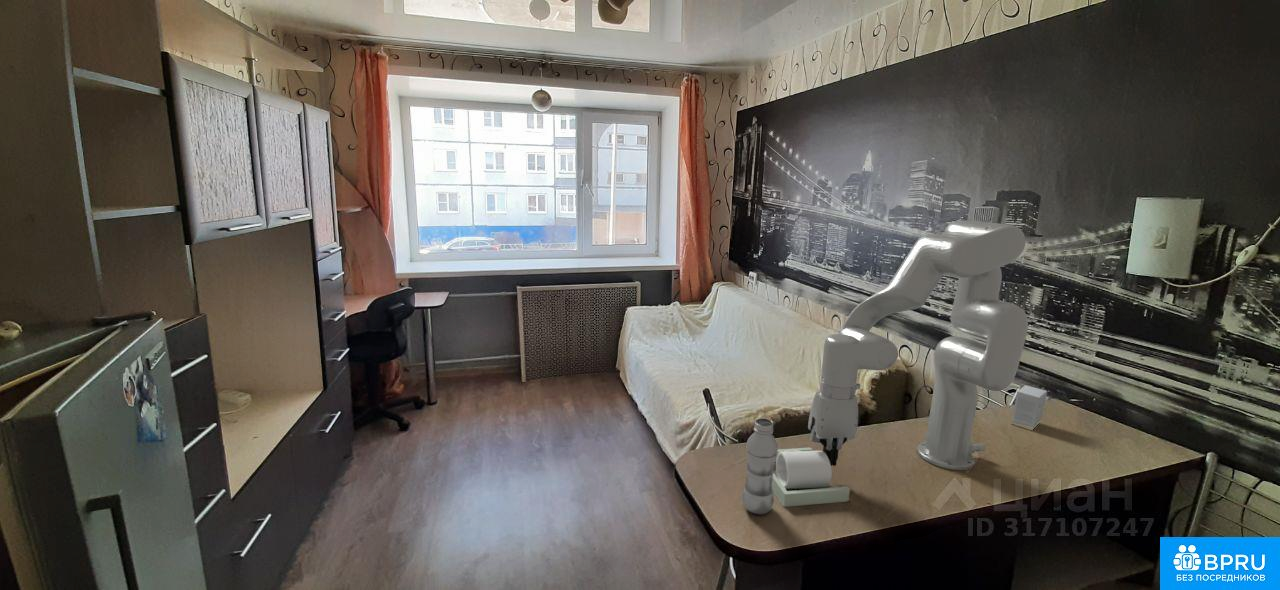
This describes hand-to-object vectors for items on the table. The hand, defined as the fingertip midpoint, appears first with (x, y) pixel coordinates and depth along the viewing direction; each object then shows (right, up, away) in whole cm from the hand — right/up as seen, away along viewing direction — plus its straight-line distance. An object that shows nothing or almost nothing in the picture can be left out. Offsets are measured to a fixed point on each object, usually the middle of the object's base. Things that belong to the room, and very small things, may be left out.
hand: (829, 462), depth 122 cm
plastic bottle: (-19, -6, -11) cm, 23 cm away
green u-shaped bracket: (-8, -4, 0) cm, 9 cm away
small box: (+69, +1, +31) cm, 76 cm away
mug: (-7, -4, 0) cm, 9 cm away
